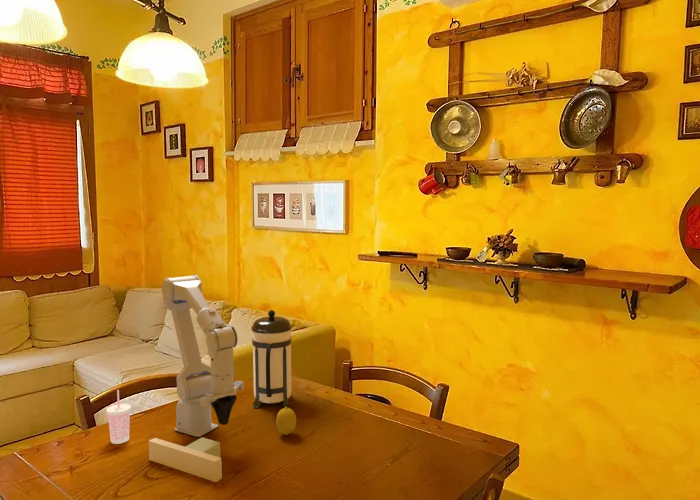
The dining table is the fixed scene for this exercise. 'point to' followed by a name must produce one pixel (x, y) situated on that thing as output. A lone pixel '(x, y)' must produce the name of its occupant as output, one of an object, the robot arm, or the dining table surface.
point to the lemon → (286, 420)
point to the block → (206, 446)
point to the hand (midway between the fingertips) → (223, 423)
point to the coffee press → (272, 360)
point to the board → (185, 459)
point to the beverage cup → (119, 421)
